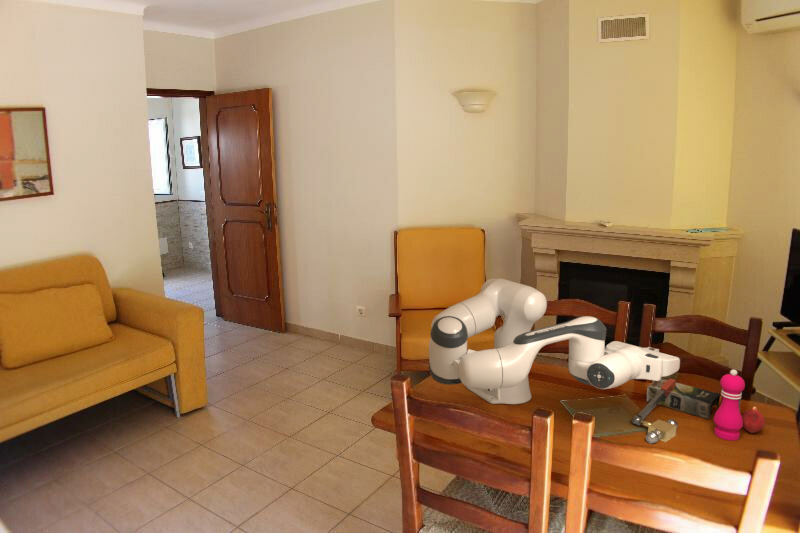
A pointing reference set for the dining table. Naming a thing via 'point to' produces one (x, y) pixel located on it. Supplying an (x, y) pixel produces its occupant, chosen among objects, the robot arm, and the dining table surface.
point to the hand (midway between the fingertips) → (654, 350)
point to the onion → (753, 420)
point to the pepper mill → (729, 407)
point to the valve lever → (655, 401)
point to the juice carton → (686, 398)
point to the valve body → (660, 430)
